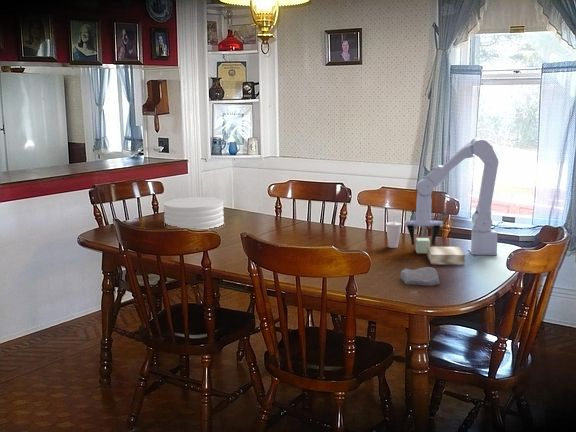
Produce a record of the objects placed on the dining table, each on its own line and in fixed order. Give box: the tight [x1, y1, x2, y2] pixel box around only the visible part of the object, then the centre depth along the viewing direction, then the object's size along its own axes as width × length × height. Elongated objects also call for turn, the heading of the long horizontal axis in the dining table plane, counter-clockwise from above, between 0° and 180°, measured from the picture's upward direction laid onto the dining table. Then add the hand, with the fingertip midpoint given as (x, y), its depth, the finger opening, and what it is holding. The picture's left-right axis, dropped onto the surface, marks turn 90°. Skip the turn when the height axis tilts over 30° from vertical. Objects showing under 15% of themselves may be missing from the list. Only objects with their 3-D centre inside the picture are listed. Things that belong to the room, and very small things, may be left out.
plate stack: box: [162, 196, 225, 229], centre depth 308 cm, size 28×28×12 cm
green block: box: [415, 237, 431, 254], centre depth 255 cm, size 5×5×5 cm
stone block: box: [400, 266, 440, 286], centre depth 217 cm, size 12×5×10 cm
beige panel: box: [426, 246, 466, 266], centre depth 243 cm, size 12×12×4 cm
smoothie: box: [385, 212, 402, 249], centre depth 262 cm, size 6×6×14 cm
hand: (422, 244), depth 255 cm, fingers open, 7 cm apart
